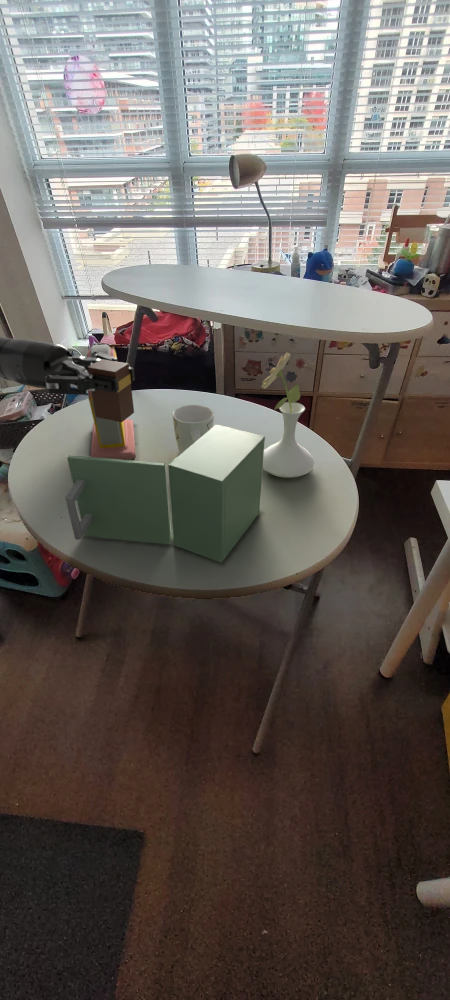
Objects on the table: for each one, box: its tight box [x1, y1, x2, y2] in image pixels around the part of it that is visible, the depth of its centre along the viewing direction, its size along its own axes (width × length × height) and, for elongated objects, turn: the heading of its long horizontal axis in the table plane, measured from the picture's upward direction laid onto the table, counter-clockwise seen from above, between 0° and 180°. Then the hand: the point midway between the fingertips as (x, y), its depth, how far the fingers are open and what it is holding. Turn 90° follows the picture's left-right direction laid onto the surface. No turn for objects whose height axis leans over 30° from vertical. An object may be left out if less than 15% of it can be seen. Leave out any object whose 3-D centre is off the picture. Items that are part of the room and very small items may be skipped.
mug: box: [172, 404, 215, 455], centre depth 95 cm, size 11×8×10 cm
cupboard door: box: [64, 454, 172, 546], centre depth 70 cm, size 6×15×16 cm, turn 82°
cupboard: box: [167, 424, 266, 564], centre depth 75 cm, size 9×15×16 cm, turn 152°
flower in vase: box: [260, 351, 315, 479], centre depth 88 cm, size 13×11×25 cm
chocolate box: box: [88, 359, 135, 422], centre depth 74 cm, size 5×4×8 cm
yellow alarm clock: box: [86, 344, 137, 460], centre depth 97 cm, size 22×9×22 cm, turn 11°
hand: (125, 380), depth 72 cm, fingers closed on chocolate box, 4 cm apart
